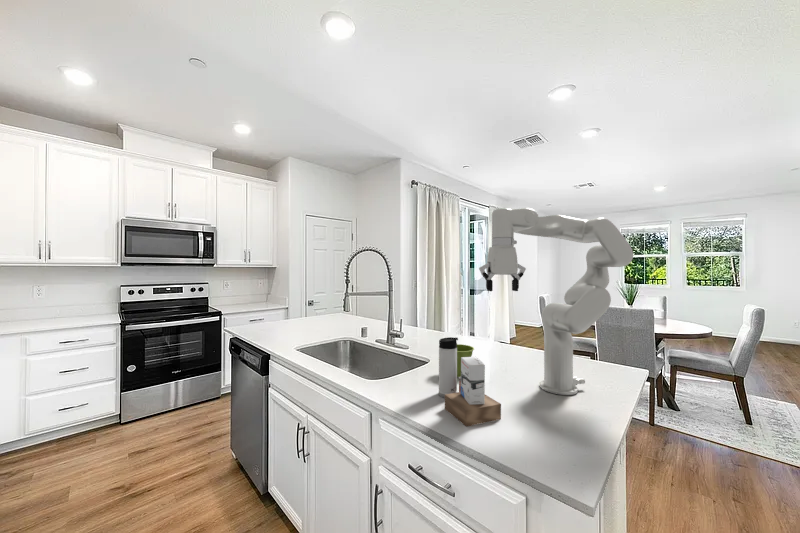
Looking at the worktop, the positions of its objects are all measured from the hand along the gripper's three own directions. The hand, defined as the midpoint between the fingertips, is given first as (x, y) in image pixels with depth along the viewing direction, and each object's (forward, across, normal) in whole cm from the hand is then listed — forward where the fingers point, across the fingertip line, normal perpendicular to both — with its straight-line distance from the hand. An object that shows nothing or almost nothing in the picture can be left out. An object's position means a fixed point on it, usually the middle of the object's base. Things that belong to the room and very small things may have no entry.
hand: (502, 290), depth 113 cm
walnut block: (+37, +17, +15) cm, 43 cm away
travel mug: (+36, +20, 0) cm, 42 cm away
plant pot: (+36, +9, -20) cm, 43 cm away
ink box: (+32, +17, +15) cm, 39 cm away
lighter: (+36, +14, +4) cm, 39 cm away
